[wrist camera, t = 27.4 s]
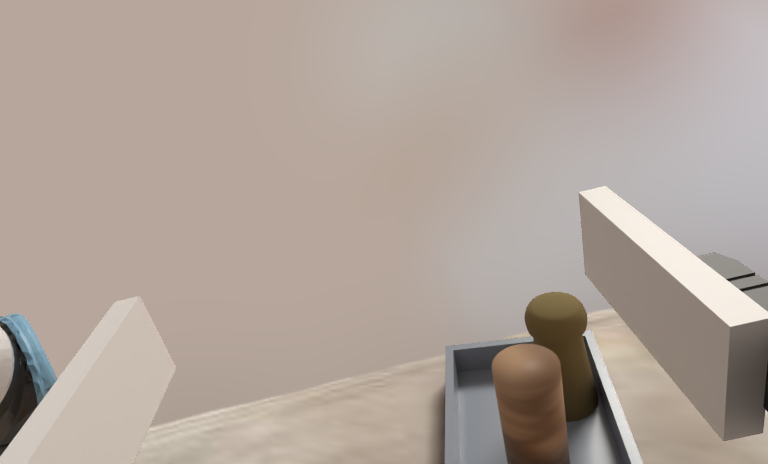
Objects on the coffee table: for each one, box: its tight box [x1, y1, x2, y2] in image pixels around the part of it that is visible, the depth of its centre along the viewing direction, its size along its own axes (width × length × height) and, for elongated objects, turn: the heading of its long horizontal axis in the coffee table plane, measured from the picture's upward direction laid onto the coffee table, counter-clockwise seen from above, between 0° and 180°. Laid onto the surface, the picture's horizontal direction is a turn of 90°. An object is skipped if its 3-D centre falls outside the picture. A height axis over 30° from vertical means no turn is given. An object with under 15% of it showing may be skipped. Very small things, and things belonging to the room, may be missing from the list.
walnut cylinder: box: [492, 344, 570, 464], centre depth 42 cm, size 5×5×11 cm
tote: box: [445, 330, 643, 464], centre depth 48 cm, size 15×18×4 cm
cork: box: [525, 292, 598, 422], centre depth 48 cm, size 6×6×11 cm
